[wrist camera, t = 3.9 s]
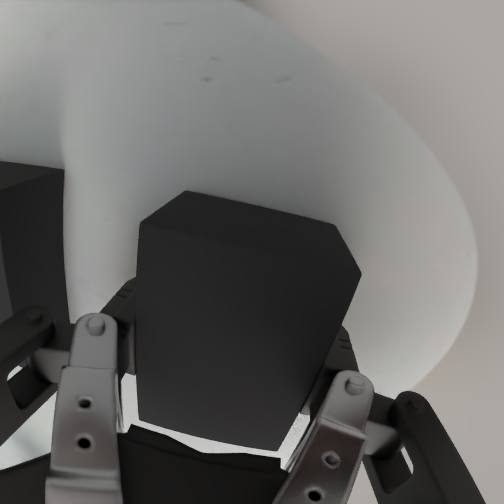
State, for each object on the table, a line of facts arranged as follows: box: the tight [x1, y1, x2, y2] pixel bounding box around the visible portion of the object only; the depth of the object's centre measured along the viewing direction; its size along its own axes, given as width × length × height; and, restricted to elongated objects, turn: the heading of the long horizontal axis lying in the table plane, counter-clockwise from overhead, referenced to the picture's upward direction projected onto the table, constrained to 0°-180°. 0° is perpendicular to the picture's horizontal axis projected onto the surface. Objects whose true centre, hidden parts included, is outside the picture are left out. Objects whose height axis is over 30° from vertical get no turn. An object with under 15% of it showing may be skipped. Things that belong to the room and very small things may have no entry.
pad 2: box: [135, 191, 362, 451], centre depth 10 cm, size 8×6×4 cm
